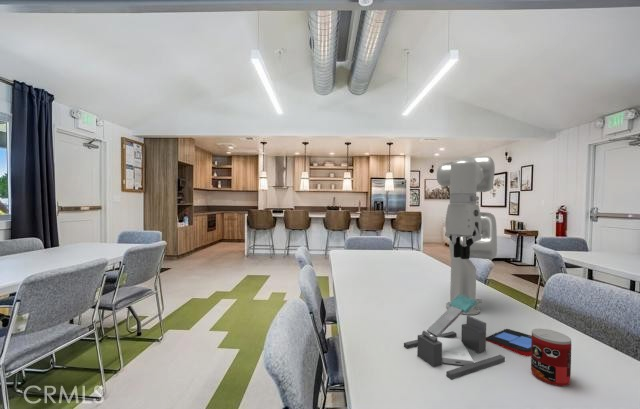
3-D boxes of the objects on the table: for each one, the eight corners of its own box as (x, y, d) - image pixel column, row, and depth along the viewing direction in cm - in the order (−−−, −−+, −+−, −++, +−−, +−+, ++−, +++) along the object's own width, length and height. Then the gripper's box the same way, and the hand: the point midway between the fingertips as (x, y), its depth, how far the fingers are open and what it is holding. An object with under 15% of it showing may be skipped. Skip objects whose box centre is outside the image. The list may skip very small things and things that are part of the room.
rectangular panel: (460, 297, 89) (459, 294, 88) (476, 303, 84) (475, 299, 83) (421, 334, 82) (420, 331, 82) (436, 343, 77) (435, 340, 77)
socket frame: (452, 334, 96) (453, 309, 96) (504, 361, 80) (505, 331, 80) (403, 346, 87) (404, 318, 87) (451, 379, 71) (451, 345, 71)
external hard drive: (461, 344, 89) (474, 366, 77) (433, 341, 90) (442, 362, 78) (461, 339, 89) (474, 360, 77) (433, 336, 90) (442, 357, 78)
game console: (506, 331, 100) (506, 325, 100) (549, 347, 89) (550, 340, 89) (483, 341, 93) (483, 334, 93) (527, 359, 82) (527, 352, 82)
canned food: (523, 369, 76) (524, 328, 76) (550, 368, 77) (551, 327, 77) (548, 387, 69) (549, 342, 69) (579, 386, 69) (580, 341, 69)
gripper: (494, 200, 84) (493, 262, 85) (450, 200, 99) (449, 253, 99) (477, 199, 81) (476, 263, 81) (434, 200, 96) (433, 254, 96)
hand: (461, 257), depth 90 cm, fingers closed
